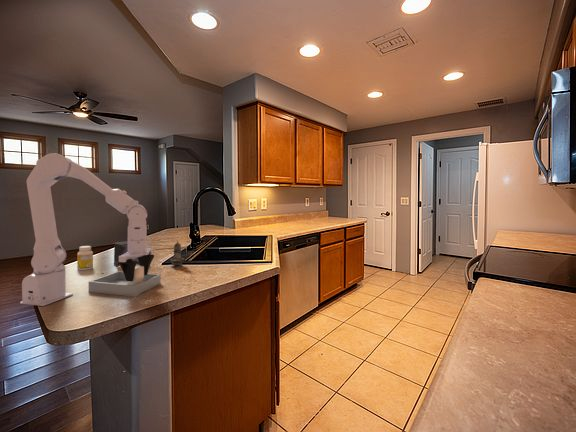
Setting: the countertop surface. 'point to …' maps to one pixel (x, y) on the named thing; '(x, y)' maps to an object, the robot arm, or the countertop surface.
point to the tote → (123, 284)
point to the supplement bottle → (85, 258)
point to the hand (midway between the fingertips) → (137, 277)
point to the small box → (121, 251)
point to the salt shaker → (177, 256)
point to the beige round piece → (137, 276)
